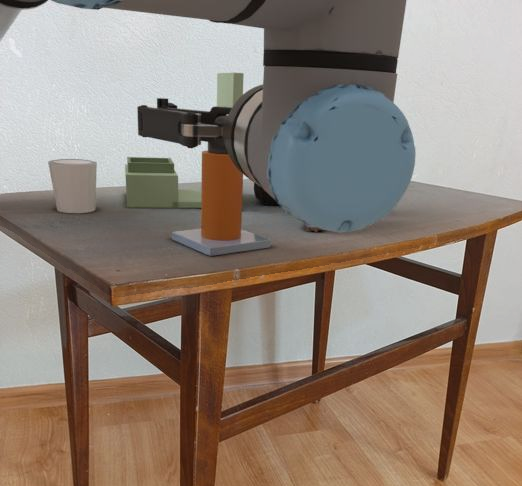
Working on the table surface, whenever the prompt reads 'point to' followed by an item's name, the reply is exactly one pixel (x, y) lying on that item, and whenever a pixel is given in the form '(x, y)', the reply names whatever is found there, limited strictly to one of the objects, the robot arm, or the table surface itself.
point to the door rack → (172, 164)
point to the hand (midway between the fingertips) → (232, 119)
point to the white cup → (74, 184)
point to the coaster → (220, 242)
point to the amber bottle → (220, 196)
